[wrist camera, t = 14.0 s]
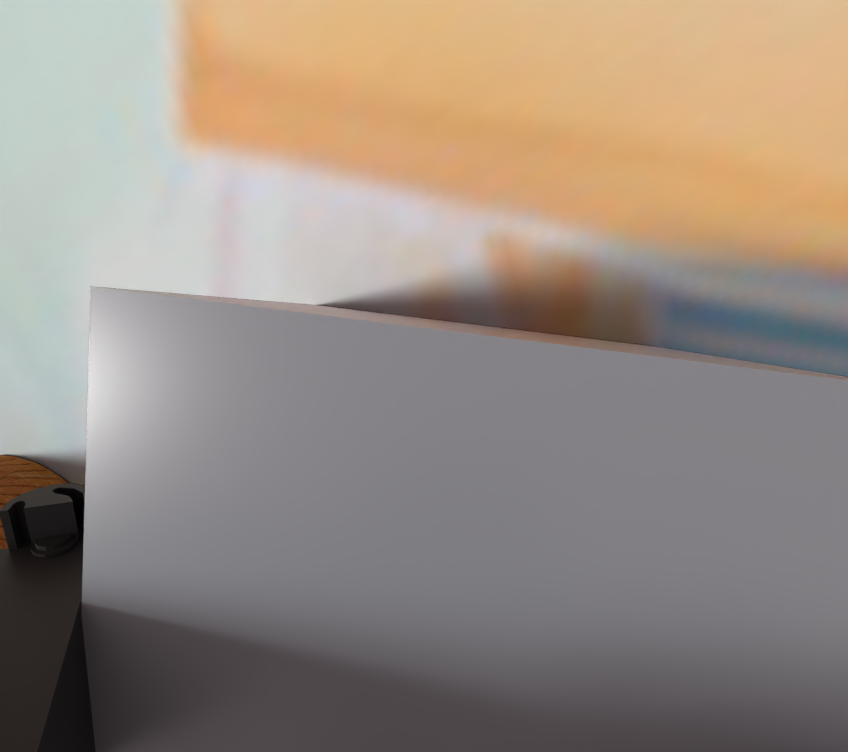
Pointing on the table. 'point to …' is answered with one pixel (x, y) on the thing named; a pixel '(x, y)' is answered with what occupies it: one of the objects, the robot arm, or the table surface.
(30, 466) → the disposable coffee cup
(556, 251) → the table surface
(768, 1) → the table surface
